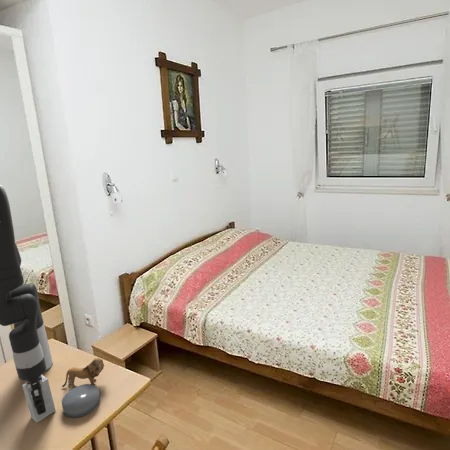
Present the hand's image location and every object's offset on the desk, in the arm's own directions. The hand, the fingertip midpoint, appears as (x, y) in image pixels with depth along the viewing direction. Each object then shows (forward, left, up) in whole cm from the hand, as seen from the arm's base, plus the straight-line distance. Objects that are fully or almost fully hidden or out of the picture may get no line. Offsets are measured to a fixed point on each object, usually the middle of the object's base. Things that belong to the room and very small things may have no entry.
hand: (41, 406), depth 107 cm
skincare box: (0, 0, -3) cm, 3 cm away
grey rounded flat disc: (+3, +11, -3) cm, 12 cm away
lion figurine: (-7, +14, -3) cm, 16 cm away
